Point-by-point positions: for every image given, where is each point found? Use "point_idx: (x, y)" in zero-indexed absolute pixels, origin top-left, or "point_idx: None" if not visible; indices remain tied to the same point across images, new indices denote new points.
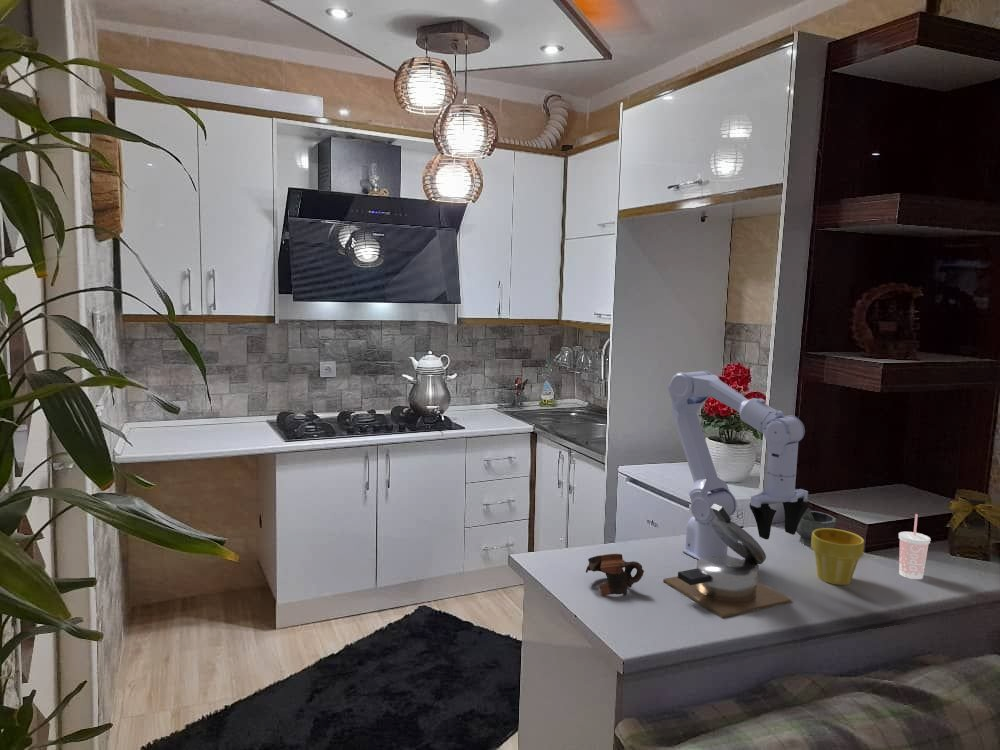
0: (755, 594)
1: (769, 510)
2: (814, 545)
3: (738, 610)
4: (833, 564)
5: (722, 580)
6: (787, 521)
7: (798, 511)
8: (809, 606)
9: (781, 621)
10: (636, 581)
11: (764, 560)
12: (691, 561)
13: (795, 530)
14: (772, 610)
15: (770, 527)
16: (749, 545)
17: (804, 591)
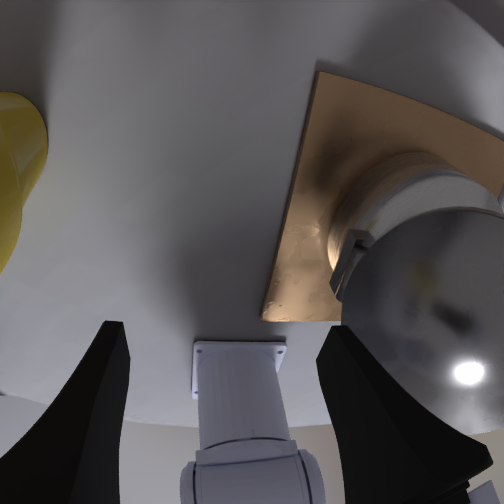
0: (396, 158)
1: (476, 474)
2: (11, 235)
3: (487, 136)
4: (7, 121)
5: None
6: (118, 411)
7: (81, 475)
8: (292, 16)
9: (450, 35)
10: None
11: (433, 211)
12: (294, 364)
13: (103, 338)
14: (416, 80)
15: (373, 380)
16: None
17: (184, 102)
